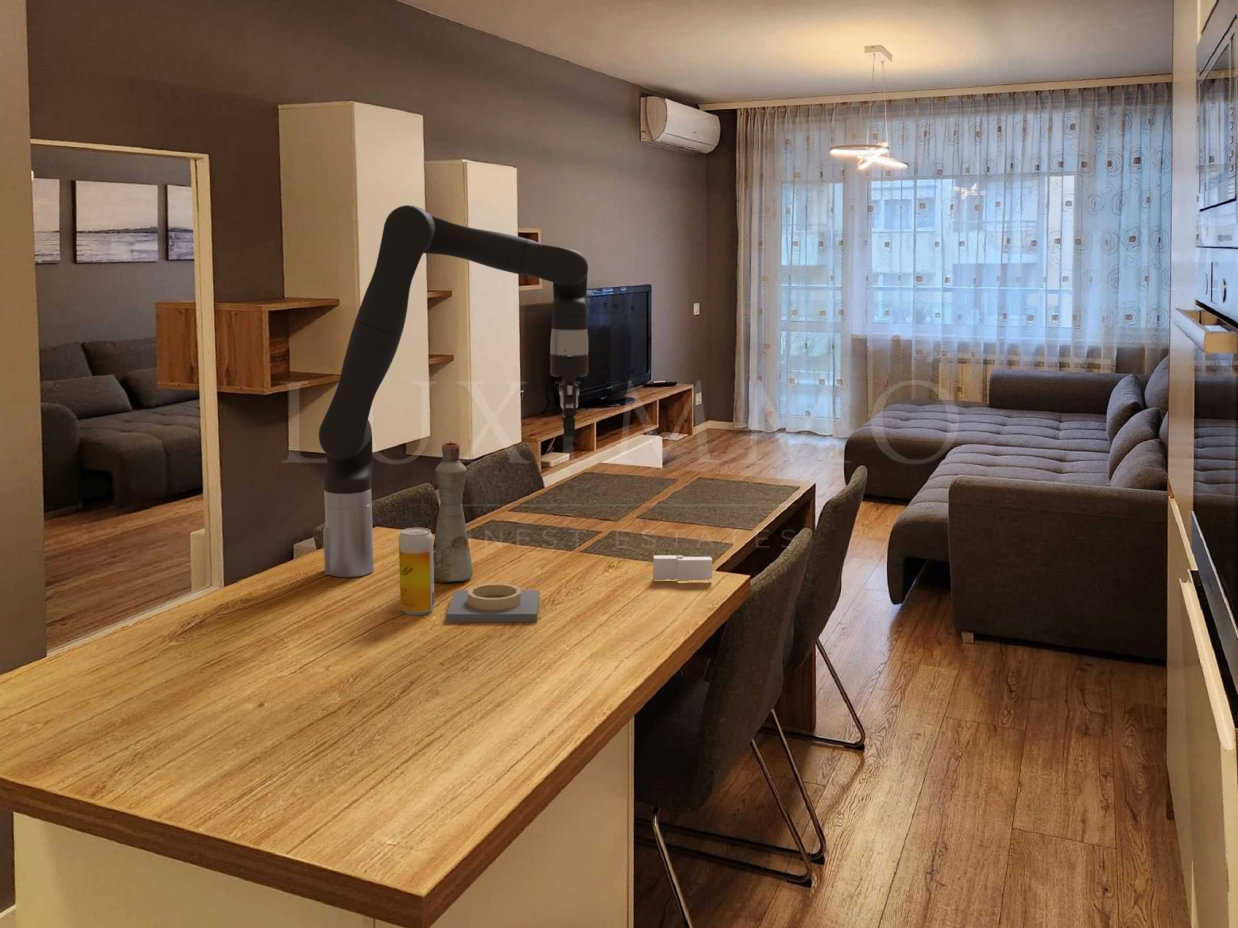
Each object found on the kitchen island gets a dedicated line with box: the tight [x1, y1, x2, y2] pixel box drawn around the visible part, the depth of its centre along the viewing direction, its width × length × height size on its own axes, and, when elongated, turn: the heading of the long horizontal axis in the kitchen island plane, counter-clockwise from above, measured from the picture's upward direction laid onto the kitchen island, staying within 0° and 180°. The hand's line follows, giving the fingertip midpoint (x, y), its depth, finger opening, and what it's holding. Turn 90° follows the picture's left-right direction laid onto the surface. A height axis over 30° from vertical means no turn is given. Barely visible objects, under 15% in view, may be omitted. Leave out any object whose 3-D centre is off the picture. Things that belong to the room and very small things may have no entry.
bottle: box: [433, 441, 474, 583], centre depth 220 cm, size 9×9×28 cm
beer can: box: [398, 527, 435, 616], centre depth 202 cm, size 6×6×15 cm
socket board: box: [446, 582, 540, 623], centre depth 204 cm, size 16×14×4 cm
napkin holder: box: [652, 554, 713, 581], centre depth 223 cm, size 15×11×6 cm
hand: (568, 432), depth 223 cm, fingers open, 8 cm apart
